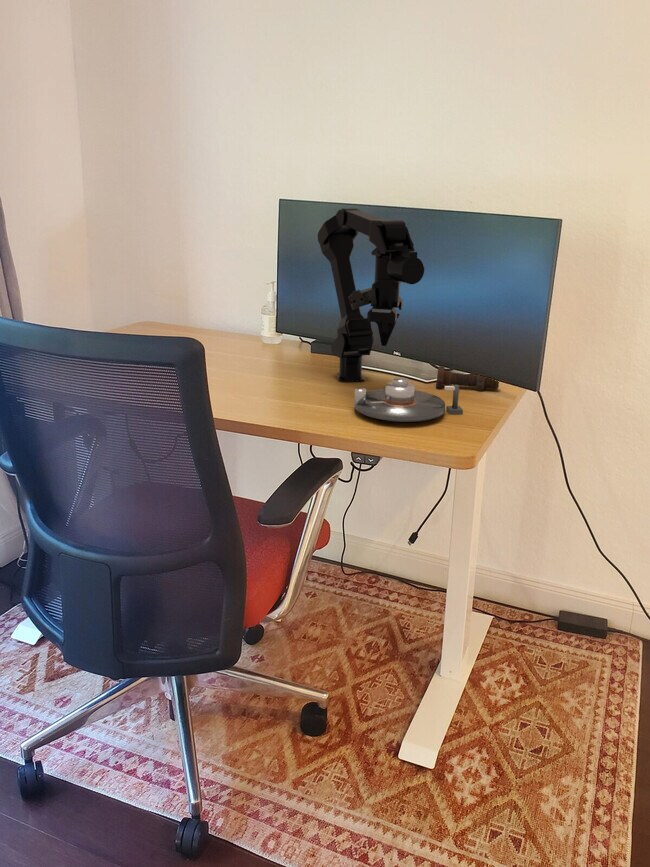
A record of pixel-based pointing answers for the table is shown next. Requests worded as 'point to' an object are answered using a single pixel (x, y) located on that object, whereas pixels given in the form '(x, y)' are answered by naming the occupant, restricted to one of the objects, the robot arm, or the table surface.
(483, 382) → the bolt
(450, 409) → the dial pointer
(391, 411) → the turntable
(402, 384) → the cap
